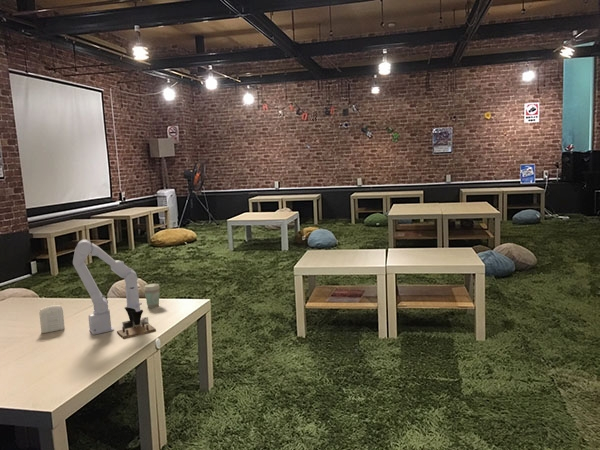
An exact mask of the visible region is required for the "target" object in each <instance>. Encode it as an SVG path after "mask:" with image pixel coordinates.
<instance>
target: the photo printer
mask: <svg viewBox="0 0 600 450" xmlns="http://www.w3.org/2000/svg"><path fill="white" fill-rule="evenodd" d="M63 309H64V308H63V306H62V305H57V304H53V305H47V306H44V307H42V308H40V309H39V312H38V313H39V321H40V331H41V332H40V333H42V334H47V333H51V332H56V331H63V330H65V328H66V327H65V319H64V317H65V315H64V310H63Z"/></svg>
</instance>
